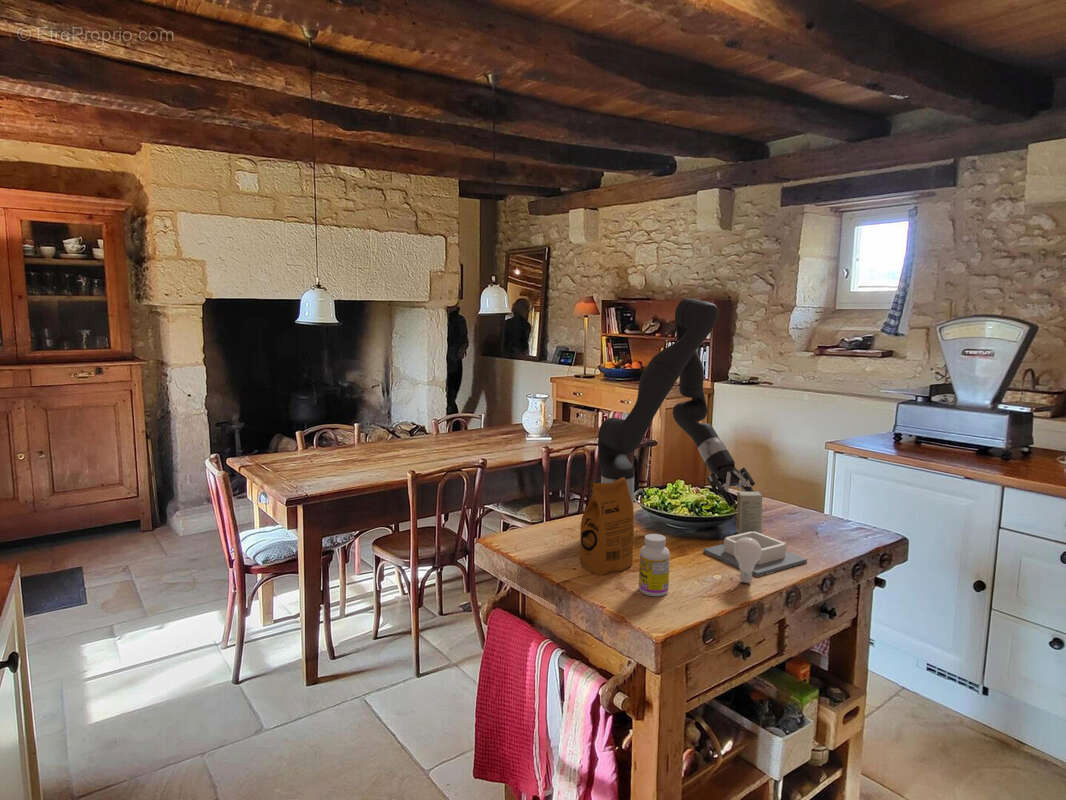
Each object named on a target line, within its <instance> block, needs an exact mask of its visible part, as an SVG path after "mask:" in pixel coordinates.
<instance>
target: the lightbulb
mask: <svg viewBox="0 0 1066 800" xmlns="http://www.w3.org/2000/svg"><path fill="white" fill-rule="evenodd" d="M733 553H734V556H735V558H736V560H737V561H738V563H739V568H740V569H739V568H738V569H739V571H740V574H739V581H740V582H742V583H743V584H750V583H752V581H753V575H752V571H753V570H754V567H755V564H756V563H757V562H758V561H759V560H760V558H761V555H762V549H761V546H760V544H759V543H758V542H757V541H756V540H755V539H753V538H750V537H743V538H740V539H739V540H737V541H736V543H735V544H734V547H733Z"/></svg>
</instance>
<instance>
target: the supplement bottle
mask: <svg viewBox="0 0 1066 800" xmlns="http://www.w3.org/2000/svg"><path fill="white" fill-rule="evenodd" d="M644 543H645V545H643V546H642V547H641V548H640V550H639V573H638V574H639V575H638V589H639V591H640V593H642V594H644V595H645V596H649V597H662V596H665V595H666V594H668V592H669V582H670V581H669V580H670V557H671V556H670V555H671V553H670V550H669V549H668V547H666V546H665V545H666V543H667V537H666V536H665V535H663V534H659V533H649V534H646V535H645V536H644Z"/></svg>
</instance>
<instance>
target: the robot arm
mask: <svg viewBox="0 0 1066 800" xmlns="http://www.w3.org/2000/svg"><path fill="white" fill-rule="evenodd" d="M674 311H675V312H674V324H675V325H674V326H675V333H676V335H675V336H676V341H675V342H674V343H672V344H671V345H669V346H667V347H666V348H663V349H662V350H660V351H659V352H657V353H656V354H655V355H654V356H653V357H652V358H651V359H650V361H649V362H648V363H647V365H646V367H645V368H644V370H643V371H642V373H641V376H640V378H639V381H638V390H637V398H636V401H635V404H634V405H633V408H632V409H631V411H630V412H629V414H628V415H627V416H626V418H625V419H624V418H623V419H622V418H618V417H609V418H606V419H605V420H603V422H602V423H601V425H600V427H599V429H598V434H597V435H598V436H597V453H598V464H599V467H600V473H601V474H600V476H601V477H600V478H601V479H600V481H601V482H600V483H614V482H615V481H617V480H618V479H620V478H622V477H624V478H625V479H626V483H627V486H628V489H629V494H630V496H631V500H632V503H633V507H634V503H635V501H634V499H635V498H634V497H635V470H636V469H635V467H634V465H633V463H631V461H630V460H629V459H628V456H627V455H630V454H632V453H634V452H635V451H636V450H638V447H639V446H640V445H641V443H642V441H643V439H644V437H645V435H646V434H647V431H648V430H649V428H650V426H651V423H652V421H653V420H654V418H655V416H656V414H657V412H658V411H659V409H661V405H662V404H663V402H664V401H665V399H666V398H667V396H668V395H669V393H670V391H671V390H672V389H673V387H674V386H675V384H676V382H677V381H678V380H679V393H680V395H681V396H683V397H685V398H691V399H689V400H687V401H682V402H678V403H676V404H675V405H674V406H673V409H672V417H673V419H674V421H675V423H676V424H677V425H678V426H679V428H681V429H682V430H683V431H684V432H685V433H686V434H687V435H688V436H689V437H690V438H691V439H692V441H693V442H694V444H695V446H696V447H697V450H698V451H699V454H700V457H701V458H702V459H703V462H704V463H705V465H706V466H707V468H708V470H709V471H710V475H708V476H707V477H706V478H707V481H708V483H709V485H710V487H711V489H712V491H713V493H714V495H716V496H718V495H720V496H722V497H723V499H724V501H725V503H726V505H728V506H729V507H730V508H732V507H734V506H735V505H737V501H736V500H735V498H734V497H733V495H732V493H731V492H730V491H729V489H730V487H736V488H738V489H739V488H740V489H741V490H743V492H755V491H754V489H753V486H755V485H756V482H755V480H754V479H753V478H752V477H751V475H750V474H749V472H748V469H746V468H745V467H742V468H741V469H739V470H738V469H737V468H736V467H735V464H736V463H735V460H734V458H733V457H732V455H731V453H730V452H729V450H728V449H727V447H726V445H725V443H724V442H723V441H722V440H721V438H720V437H719V435H718V433H717V432H716V431H715V428H714V427H713V426H712V425H711V424H710V423H707V422H705V423H704V422H702V421H704V420H705V419H706V417H707V416H708V411H709V410H708V406H707V405H708V404H707V401H706V397H705V393H704V381H705V380H704V378H705V371H704V366H703V362H702V359H701V357H700V355H699V354H698V351H697V350H698V348H700V346H701V345H702V344H703V343H704V342H705V340H706V339H707V337H709V336H710V334H711V332H712V331H713V329H714V327H716V326H715V325H716V324H717V321H718V319H719V308H718V307H717V305H716V304H714V303H712V302H709V301H703V300H699V299H697V298H696V299H695V298H689V297H685V298H683V299H682V300H680V301H679V302H678V304H677V306H676V308H675V310H674Z"/></svg>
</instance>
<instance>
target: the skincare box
mask: <svg viewBox="0 0 1066 800" xmlns="http://www.w3.org/2000/svg"><path fill="white" fill-rule="evenodd" d="M736 493H737V495H736V496H737V497H736V509H737V508H738V513H737V512H736V523H735V524H736V525H735V526H736V529H735V531H736V534H737V533H738V534H742V533H746V532H750V531H751V532H754V531H755V532H758V533H760V534H762V519H763V518H762V516H763V515H762V514H763V495H762V493H761V492H760V491H754V492H745V491H744V490H743V491H739V490H738V491H737V492H736ZM738 534H737V535H738Z"/></svg>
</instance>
